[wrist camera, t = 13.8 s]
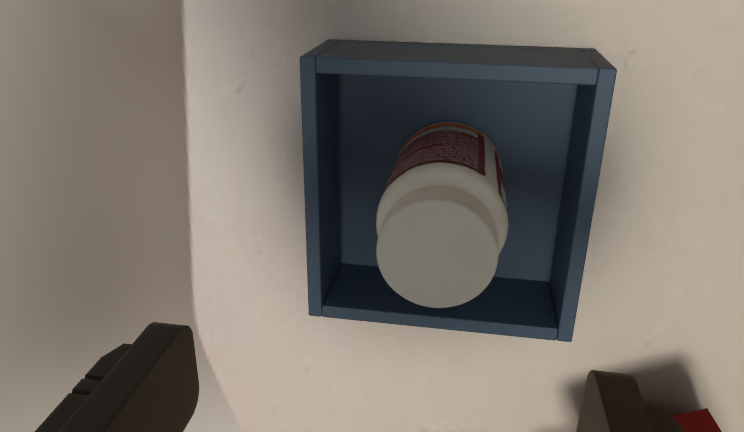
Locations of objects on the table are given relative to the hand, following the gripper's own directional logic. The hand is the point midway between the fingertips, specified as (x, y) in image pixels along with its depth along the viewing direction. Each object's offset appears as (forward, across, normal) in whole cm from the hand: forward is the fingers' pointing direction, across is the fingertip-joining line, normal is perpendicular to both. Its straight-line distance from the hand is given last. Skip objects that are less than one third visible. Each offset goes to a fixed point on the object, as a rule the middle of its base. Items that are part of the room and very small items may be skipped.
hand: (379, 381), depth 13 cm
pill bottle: (+17, -1, +1) cm, 17 cm away
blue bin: (+17, -1, +2) cm, 17 cm away
